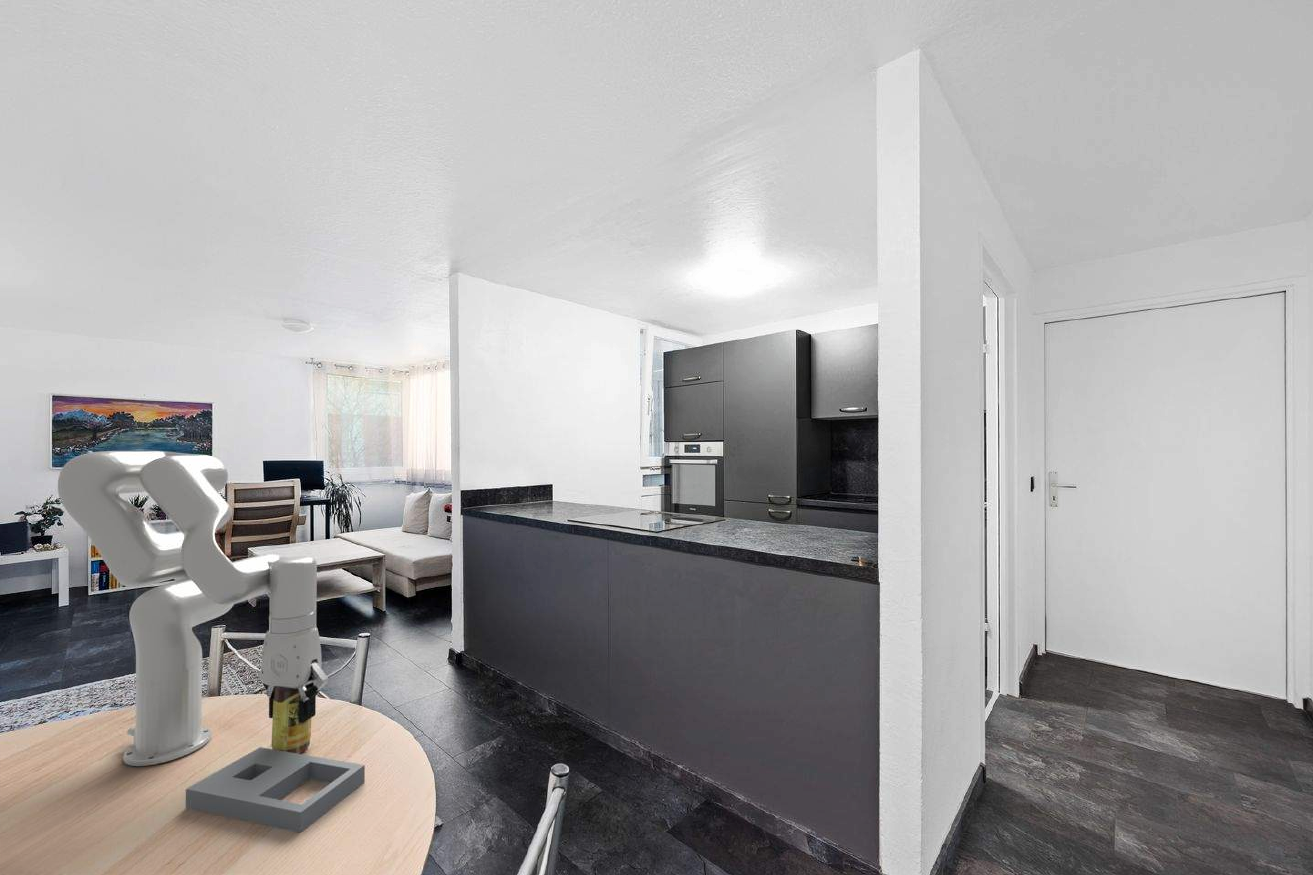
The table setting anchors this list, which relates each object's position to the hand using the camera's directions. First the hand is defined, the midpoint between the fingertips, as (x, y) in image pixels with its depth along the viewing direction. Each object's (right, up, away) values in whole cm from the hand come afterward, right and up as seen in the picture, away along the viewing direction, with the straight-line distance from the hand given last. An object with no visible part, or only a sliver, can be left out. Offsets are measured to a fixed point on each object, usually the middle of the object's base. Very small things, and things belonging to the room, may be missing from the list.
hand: (292, 715), depth 103 cm
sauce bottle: (0, -7, 0) cm, 7 cm away
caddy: (+6, -6, -13) cm, 16 cm away
